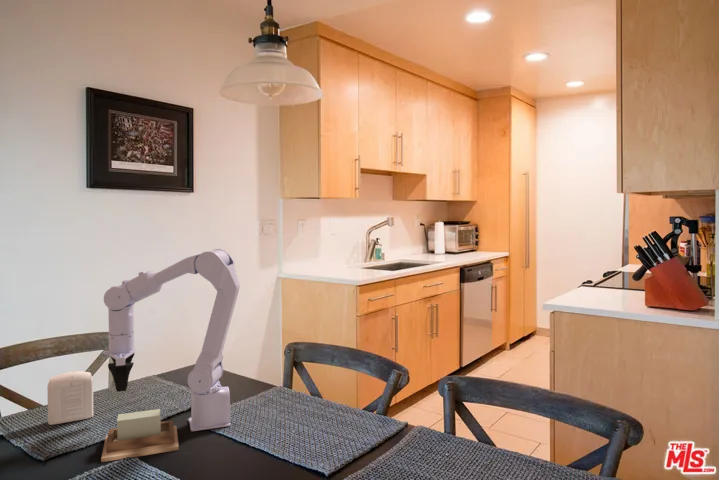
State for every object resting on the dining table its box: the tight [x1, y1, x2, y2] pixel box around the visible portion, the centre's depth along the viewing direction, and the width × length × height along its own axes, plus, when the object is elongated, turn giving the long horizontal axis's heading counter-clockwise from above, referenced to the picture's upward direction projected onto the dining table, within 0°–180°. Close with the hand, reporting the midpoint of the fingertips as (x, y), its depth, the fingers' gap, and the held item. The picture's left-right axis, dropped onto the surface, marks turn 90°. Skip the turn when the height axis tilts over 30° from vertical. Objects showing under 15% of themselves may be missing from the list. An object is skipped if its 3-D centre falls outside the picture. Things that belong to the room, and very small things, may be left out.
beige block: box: [116, 408, 162, 441], centre depth 118 cm, size 4×9×6 cm, turn 112°
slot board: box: [100, 419, 180, 463], centre depth 118 cm, size 16×12×3 cm
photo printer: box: [47, 370, 94, 426], centre depth 131 cm, size 10×4×12 cm, turn 123°
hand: (122, 385), depth 129 cm, fingers open, 7 cm apart
